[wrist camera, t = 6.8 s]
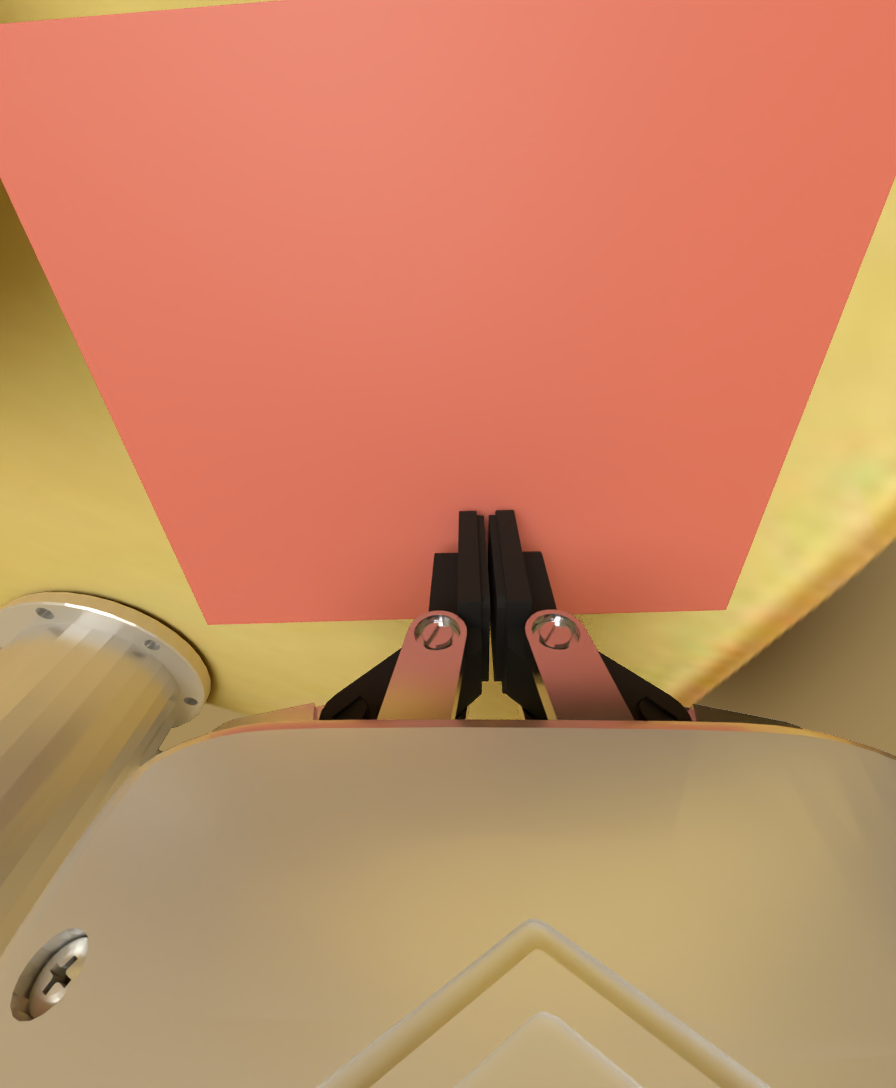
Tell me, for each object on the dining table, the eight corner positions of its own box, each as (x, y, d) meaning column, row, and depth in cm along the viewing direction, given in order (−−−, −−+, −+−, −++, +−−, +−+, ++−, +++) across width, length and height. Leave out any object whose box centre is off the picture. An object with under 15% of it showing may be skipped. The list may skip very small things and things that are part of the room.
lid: (709, 591, 15) (725, 609, 14) (221, 606, 15) (207, 624, 14) (924, -16, 7) (987, -60, 7) (-12, 59, 8) (-69, 29, 7)
